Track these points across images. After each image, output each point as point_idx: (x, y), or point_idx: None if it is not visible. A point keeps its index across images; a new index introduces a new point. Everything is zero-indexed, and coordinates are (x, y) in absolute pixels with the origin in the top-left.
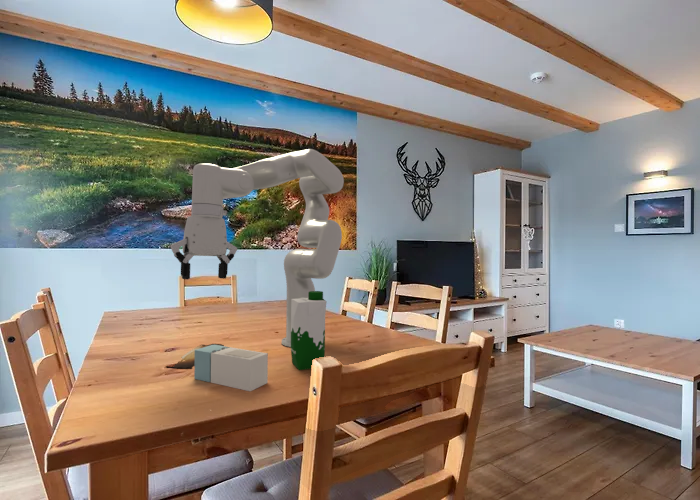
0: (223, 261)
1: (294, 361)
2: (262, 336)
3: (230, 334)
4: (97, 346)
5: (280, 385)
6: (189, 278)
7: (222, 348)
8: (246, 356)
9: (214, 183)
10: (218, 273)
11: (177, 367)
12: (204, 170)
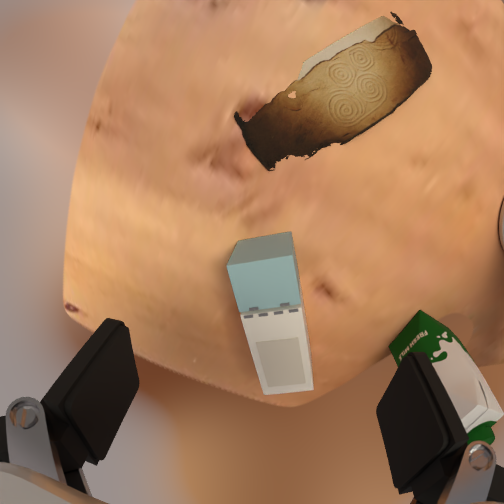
0: (414, 498)
1: (405, 334)
2: None
3: (483, 14)
4: None
5: (314, 370)
6: (137, 384)
7: (281, 306)
8: (271, 381)
9: None
10: (415, 377)
11: (251, 138)
12: None
